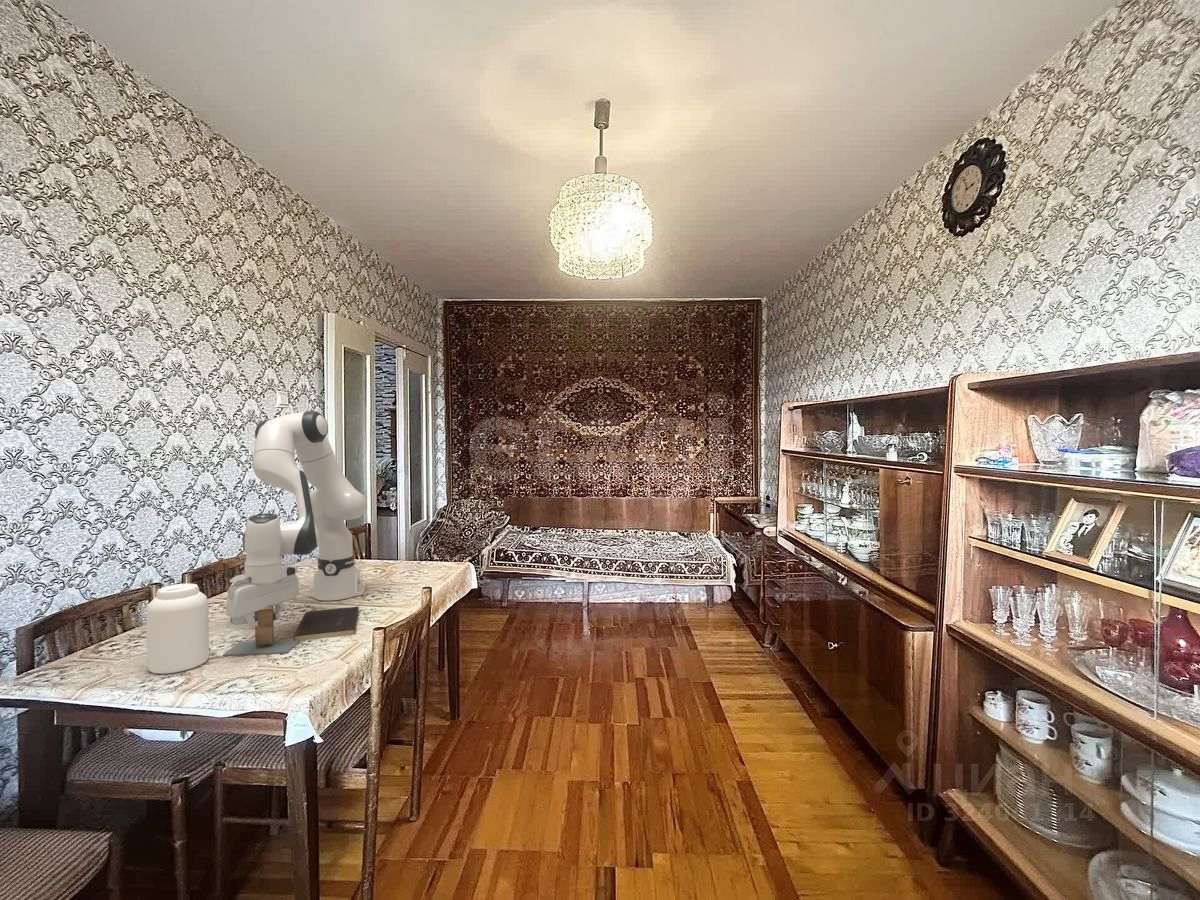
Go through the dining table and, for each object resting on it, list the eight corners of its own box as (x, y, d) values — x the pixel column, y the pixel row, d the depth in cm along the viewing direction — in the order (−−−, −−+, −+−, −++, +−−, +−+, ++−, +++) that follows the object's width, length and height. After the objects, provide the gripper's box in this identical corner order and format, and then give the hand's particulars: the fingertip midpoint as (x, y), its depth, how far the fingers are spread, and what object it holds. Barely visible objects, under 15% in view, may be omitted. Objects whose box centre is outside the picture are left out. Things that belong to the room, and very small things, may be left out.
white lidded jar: (137, 677, 135) (135, 595, 134) (161, 658, 147) (160, 582, 146) (197, 671, 138) (196, 591, 138) (216, 653, 150) (215, 578, 150)
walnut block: (257, 640, 155) (256, 605, 155) (273, 638, 157) (273, 603, 157) (255, 645, 152) (254, 609, 151) (272, 643, 153) (272, 607, 153)
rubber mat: (239, 643, 157) (239, 642, 157) (300, 641, 159) (300, 639, 159) (222, 656, 148) (222, 654, 148) (287, 653, 150) (287, 651, 150)
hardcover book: (358, 613, 186) (358, 606, 186) (354, 636, 164) (354, 628, 164) (304, 618, 180) (304, 611, 180) (293, 643, 159) (293, 635, 159)
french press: (218, 628, 169) (217, 546, 169) (242, 616, 181) (241, 539, 180) (252, 628, 170) (251, 545, 169) (273, 616, 181) (272, 538, 181)
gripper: (237, 584, 143) (238, 637, 143) (302, 566, 163) (303, 613, 163) (219, 582, 145) (220, 635, 145) (285, 564, 164) (286, 611, 165)
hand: (264, 623), depth 154 cm, fingers closed on walnut block, 6 cm apart
